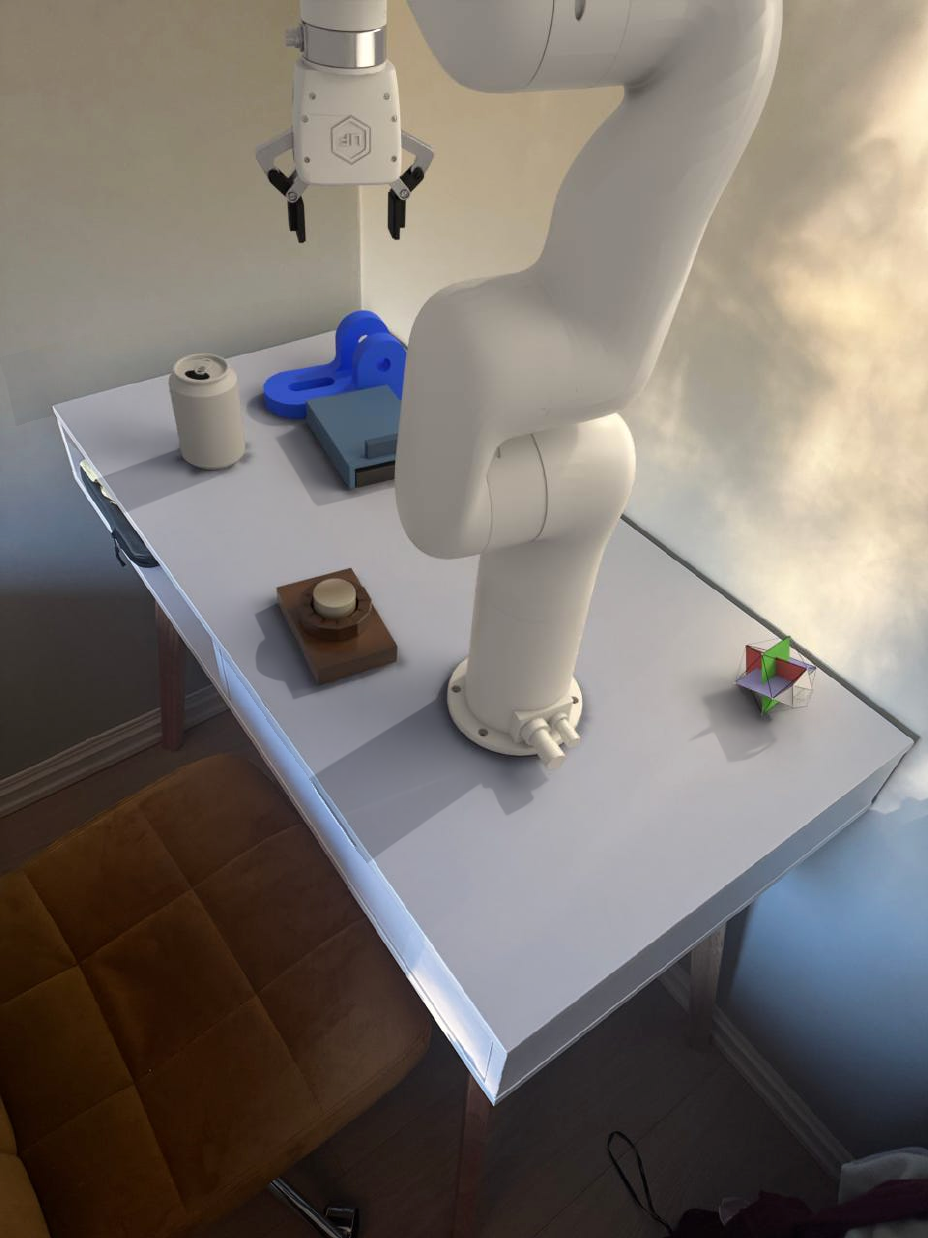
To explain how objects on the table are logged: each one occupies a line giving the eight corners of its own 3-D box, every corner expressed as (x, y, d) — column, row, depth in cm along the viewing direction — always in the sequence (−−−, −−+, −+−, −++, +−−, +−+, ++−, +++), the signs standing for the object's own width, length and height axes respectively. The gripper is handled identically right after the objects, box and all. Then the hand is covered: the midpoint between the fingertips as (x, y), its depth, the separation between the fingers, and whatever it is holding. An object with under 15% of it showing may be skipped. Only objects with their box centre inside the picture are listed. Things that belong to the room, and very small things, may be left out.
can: (169, 464, 107) (152, 373, 98) (202, 431, 112) (188, 342, 103) (227, 480, 106) (214, 389, 97) (257, 446, 111) (247, 357, 102)
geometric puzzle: (706, 663, 87) (766, 648, 80) (751, 634, 91) (813, 618, 83) (739, 729, 87) (802, 721, 80) (783, 698, 91) (847, 687, 84)
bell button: (362, 613, 87) (361, 600, 85) (322, 625, 85) (321, 612, 84) (346, 587, 89) (346, 574, 88) (308, 597, 88) (307, 584, 86)
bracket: (383, 367, 126) (384, 306, 119) (407, 398, 121) (408, 336, 114) (256, 390, 119) (250, 326, 113) (275, 423, 114) (270, 359, 108)
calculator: (426, 471, 110) (426, 455, 108) (356, 487, 106) (356, 471, 105) (381, 411, 118) (381, 396, 116) (315, 424, 115) (314, 409, 113)
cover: (435, 469, 109) (437, 432, 106) (349, 489, 105) (348, 451, 102) (387, 406, 118) (387, 370, 115) (306, 422, 114) (304, 385, 111)
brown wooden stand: (397, 661, 88) (398, 632, 85) (318, 686, 85) (316, 657, 82) (351, 582, 95) (350, 554, 92) (277, 602, 92) (274, 573, 89)
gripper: (249, 55, 77) (266, 254, 89) (447, 58, 80) (437, 248, 93) (242, 31, 82) (258, 223, 94) (429, 35, 85) (421, 218, 98)
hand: (347, 235), depth 93 cm, fingers open, 9 cm apart
